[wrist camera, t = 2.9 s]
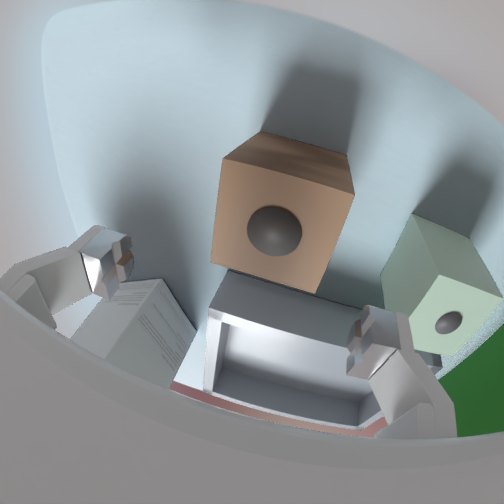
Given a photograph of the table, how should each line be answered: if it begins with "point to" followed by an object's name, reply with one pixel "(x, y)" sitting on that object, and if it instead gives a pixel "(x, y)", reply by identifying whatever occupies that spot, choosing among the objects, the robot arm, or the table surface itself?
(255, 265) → the walnut block
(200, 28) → the table surface
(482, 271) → the sage block
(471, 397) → the hardback book
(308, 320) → the tray
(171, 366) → the supplement box
